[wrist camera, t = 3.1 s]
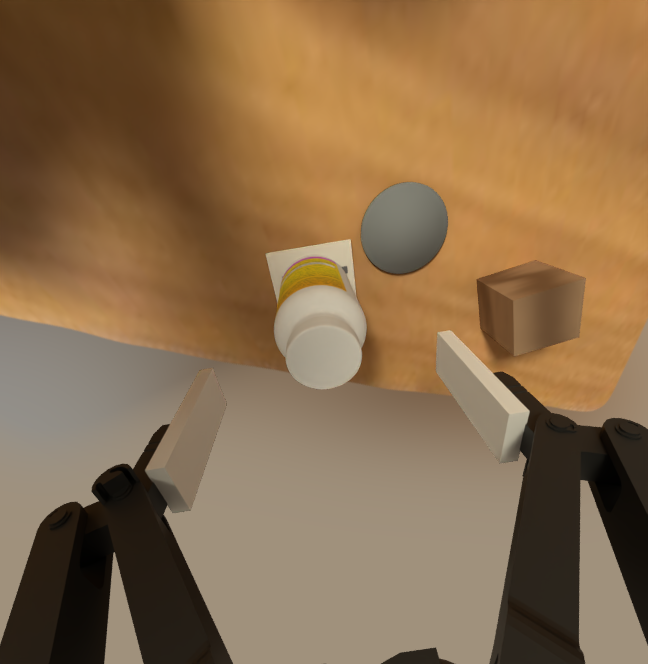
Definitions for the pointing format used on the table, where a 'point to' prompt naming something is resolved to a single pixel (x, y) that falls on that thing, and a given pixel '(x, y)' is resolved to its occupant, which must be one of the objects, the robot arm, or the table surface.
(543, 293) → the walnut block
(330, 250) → the tile
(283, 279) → the supplement bottle
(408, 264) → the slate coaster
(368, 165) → the table surface
